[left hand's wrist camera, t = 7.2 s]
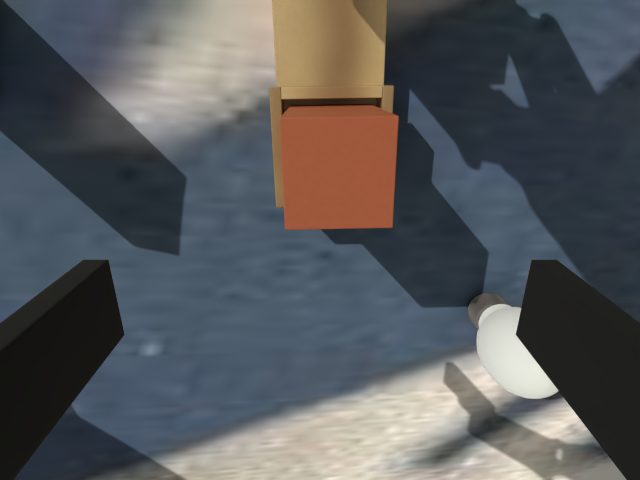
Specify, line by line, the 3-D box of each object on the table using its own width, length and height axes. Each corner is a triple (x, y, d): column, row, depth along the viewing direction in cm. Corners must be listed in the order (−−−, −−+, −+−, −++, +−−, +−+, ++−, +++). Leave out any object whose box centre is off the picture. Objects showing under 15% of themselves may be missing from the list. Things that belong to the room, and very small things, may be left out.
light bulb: (441, 315, 41) (484, 394, 30) (489, 266, 39) (552, 333, 28) (488, 347, 42) (544, 433, 32) (536, 302, 40) (612, 378, 30)
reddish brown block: (293, 183, 32) (285, 230, 22) (290, 105, 30) (279, 117, 20) (367, 181, 33) (392, 228, 22) (370, 103, 30) (399, 115, 20)
